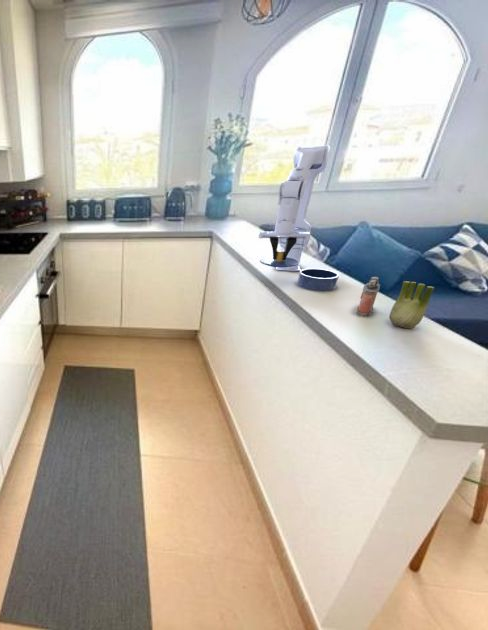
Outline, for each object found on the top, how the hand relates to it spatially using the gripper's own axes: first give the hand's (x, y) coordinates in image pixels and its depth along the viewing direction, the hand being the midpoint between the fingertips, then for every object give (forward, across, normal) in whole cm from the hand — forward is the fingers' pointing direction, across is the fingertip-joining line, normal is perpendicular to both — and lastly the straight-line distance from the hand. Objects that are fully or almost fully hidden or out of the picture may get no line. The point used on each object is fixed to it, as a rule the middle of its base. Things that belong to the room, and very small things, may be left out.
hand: (279, 259), depth 119 cm
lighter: (+9, +22, -19) cm, 30 cm away
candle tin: (+9, +13, +1) cm, 16 cm away
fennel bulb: (+9, +28, -27) cm, 40 cm away
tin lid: (+1, 0, 0) cm, 1 cm away
